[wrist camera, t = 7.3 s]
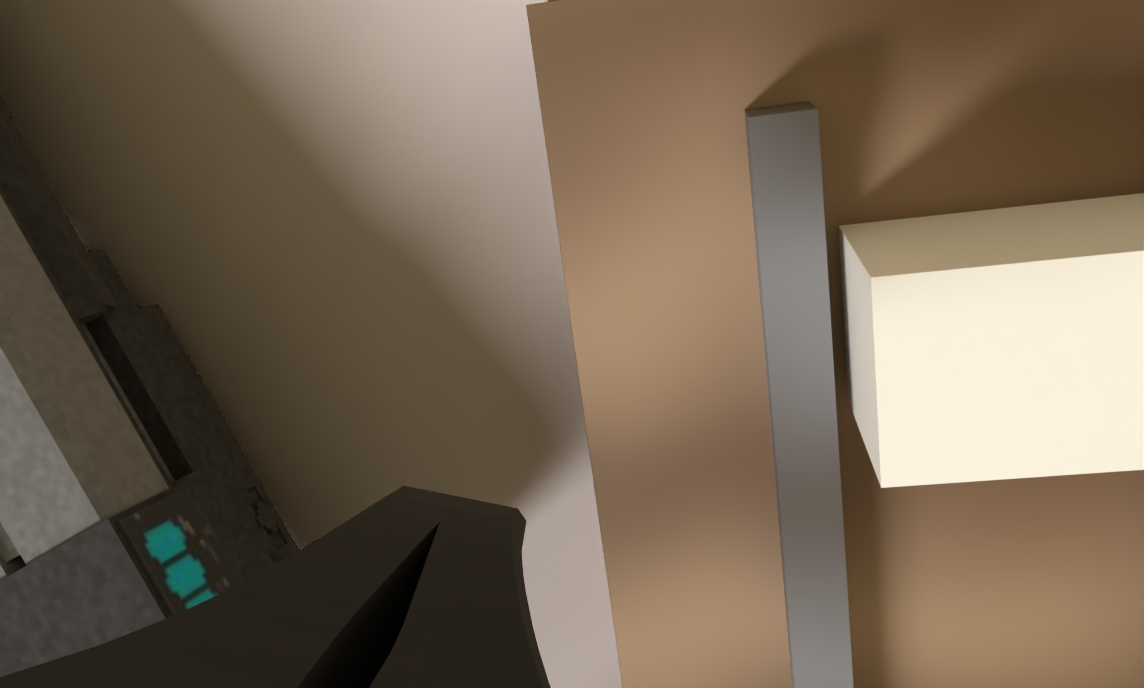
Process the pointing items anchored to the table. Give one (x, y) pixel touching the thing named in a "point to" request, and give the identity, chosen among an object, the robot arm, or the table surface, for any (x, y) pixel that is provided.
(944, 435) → the cream rectangular block
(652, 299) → the wooden board with rails
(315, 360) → the table surface
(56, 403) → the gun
